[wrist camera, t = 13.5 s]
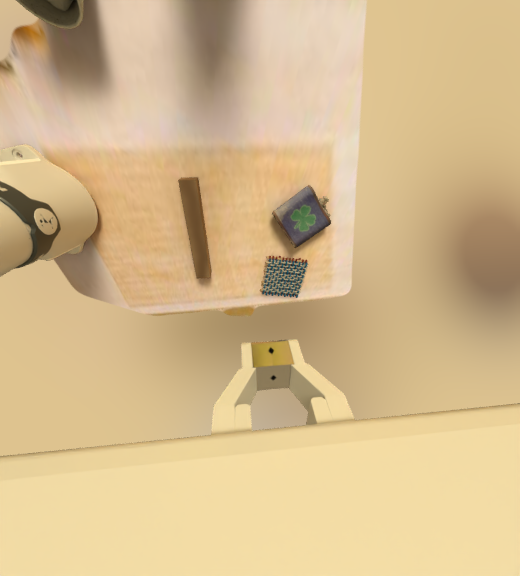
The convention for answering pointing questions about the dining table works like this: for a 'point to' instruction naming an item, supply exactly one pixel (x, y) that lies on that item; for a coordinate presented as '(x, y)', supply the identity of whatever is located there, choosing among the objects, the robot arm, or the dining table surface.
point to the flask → (303, 216)
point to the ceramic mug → (56, 11)
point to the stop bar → (195, 225)
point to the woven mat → (283, 276)
